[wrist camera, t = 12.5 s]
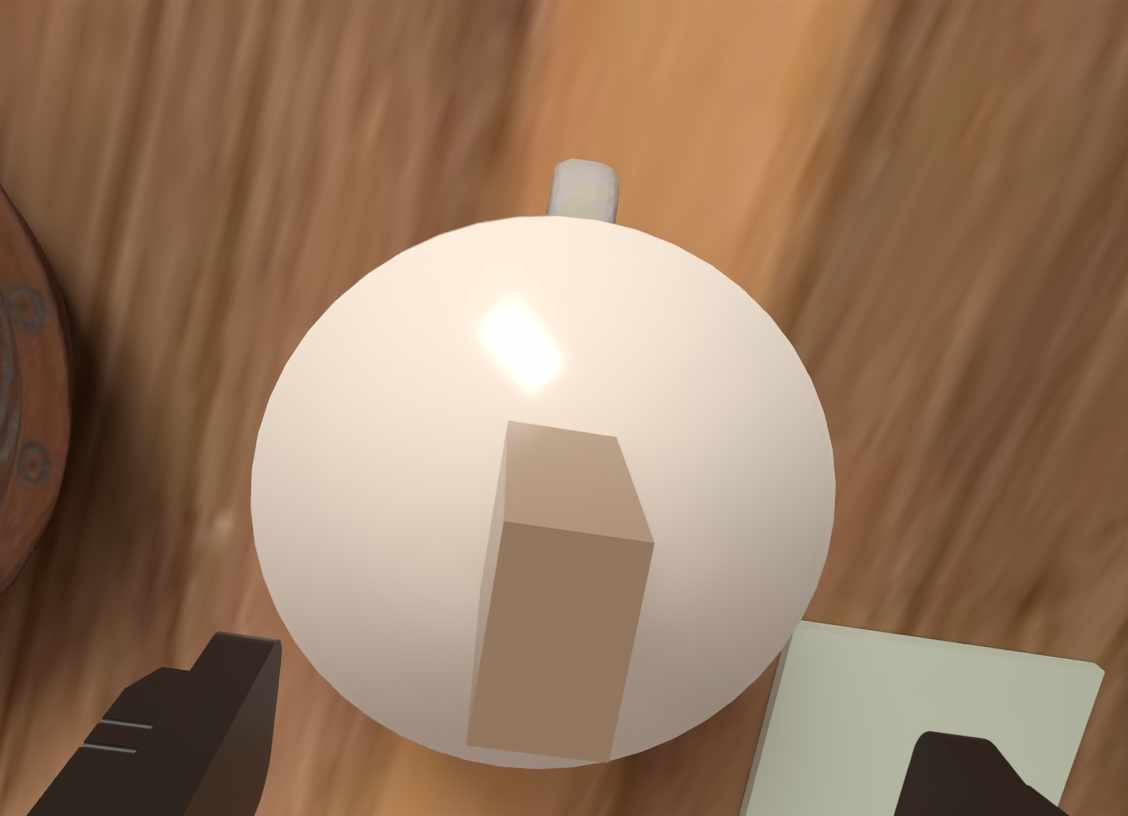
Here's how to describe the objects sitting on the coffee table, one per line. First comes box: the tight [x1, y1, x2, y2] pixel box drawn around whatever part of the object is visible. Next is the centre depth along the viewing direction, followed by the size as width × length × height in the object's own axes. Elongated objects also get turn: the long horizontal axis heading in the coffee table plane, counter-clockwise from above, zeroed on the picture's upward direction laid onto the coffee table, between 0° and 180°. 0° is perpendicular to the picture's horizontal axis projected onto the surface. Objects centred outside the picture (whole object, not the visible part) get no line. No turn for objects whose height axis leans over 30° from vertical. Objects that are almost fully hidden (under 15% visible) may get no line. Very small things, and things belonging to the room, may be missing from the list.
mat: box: [739, 620, 1105, 816], centre depth 33 cm, size 11×11×1 cm
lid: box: [251, 215, 836, 769], centre depth 19 cm, size 13×13×7 cm
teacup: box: [546, 159, 619, 223], centre depth 26 cm, size 14×11×8 cm
